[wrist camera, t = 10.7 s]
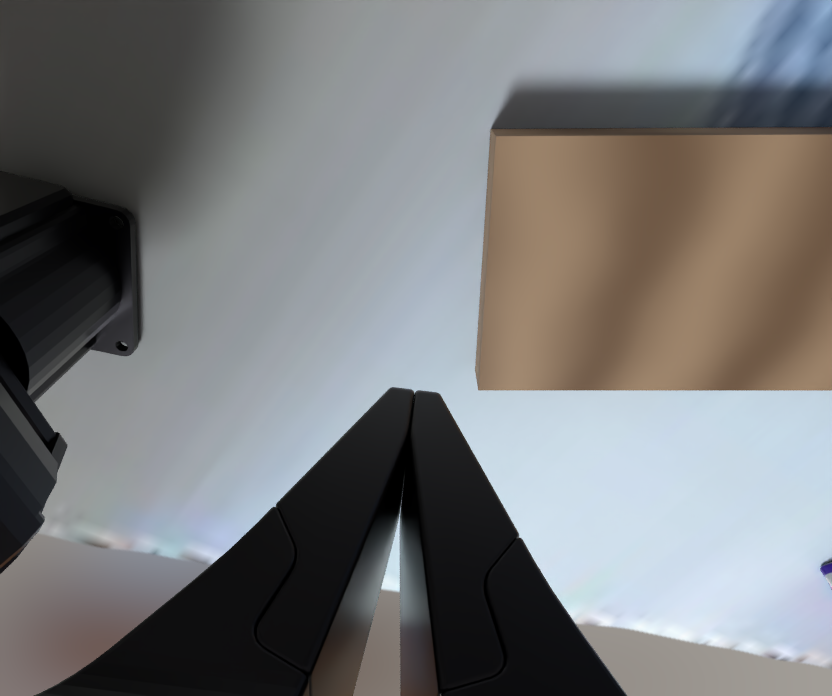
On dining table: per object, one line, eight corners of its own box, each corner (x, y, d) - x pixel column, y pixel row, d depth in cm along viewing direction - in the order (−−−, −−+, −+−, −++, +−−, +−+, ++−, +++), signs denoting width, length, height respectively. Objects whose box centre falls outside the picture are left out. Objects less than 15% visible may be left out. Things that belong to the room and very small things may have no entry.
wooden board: (475, 370, 23) (478, 391, 22) (490, 129, 18) (496, 137, 16) (975, 370, 23) (1011, 391, 21) (1139, 125, 17) (1200, 133, 16)
